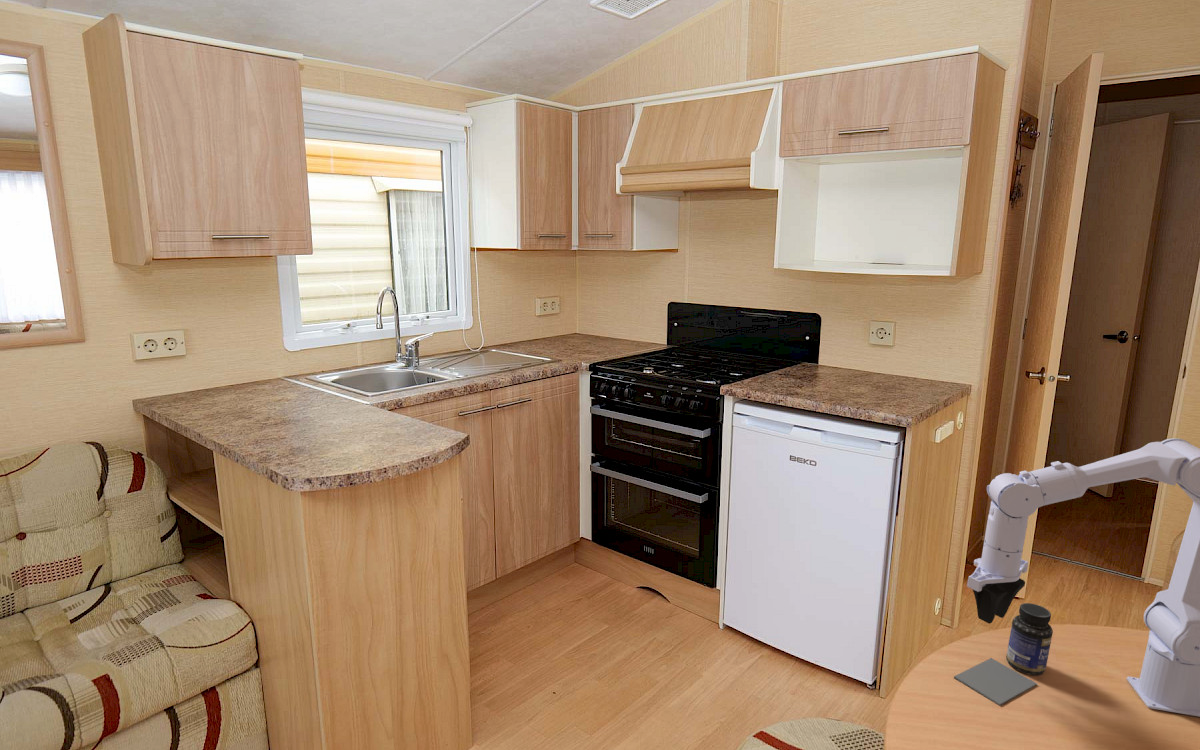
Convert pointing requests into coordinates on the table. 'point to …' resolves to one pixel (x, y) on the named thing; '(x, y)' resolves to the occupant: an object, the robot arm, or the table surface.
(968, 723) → the table surface
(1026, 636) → the pill bottle
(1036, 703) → the table surface
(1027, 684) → the rubber mat
